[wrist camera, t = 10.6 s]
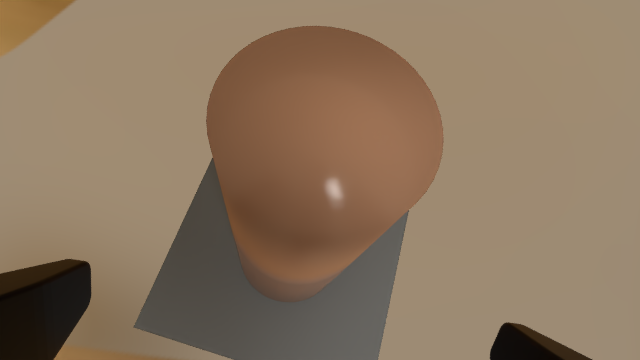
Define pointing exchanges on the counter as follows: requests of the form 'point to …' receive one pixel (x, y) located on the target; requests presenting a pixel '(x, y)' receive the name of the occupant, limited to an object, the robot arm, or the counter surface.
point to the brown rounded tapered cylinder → (318, 152)
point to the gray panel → (258, 310)
